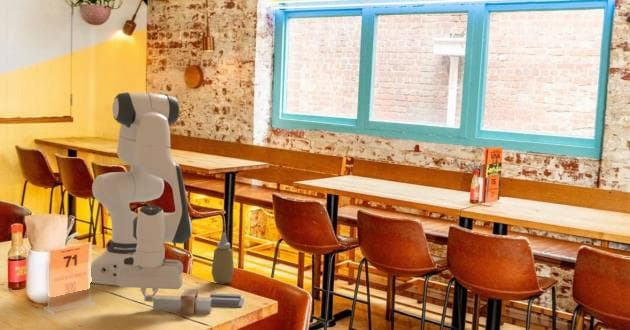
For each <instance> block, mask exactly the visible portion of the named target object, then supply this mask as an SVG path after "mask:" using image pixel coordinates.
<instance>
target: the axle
mask: <svg viewBox="0 0 630 330" xmlns="http://www.w3.org/2000/svg"><path fill="white" fill-rule="evenodd" d="M152 306H153V307H152V310H153V312H168V313H170V312H171V313H180V308H181V295H165V294H163V295H161V294H159V295H158V294H155V297H154V299H153V302H152ZM212 311H213V306H212V298H208V297H206V296H205V297H203V296H198V297H195V298H194V314H211V313H212Z"/></svg>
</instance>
